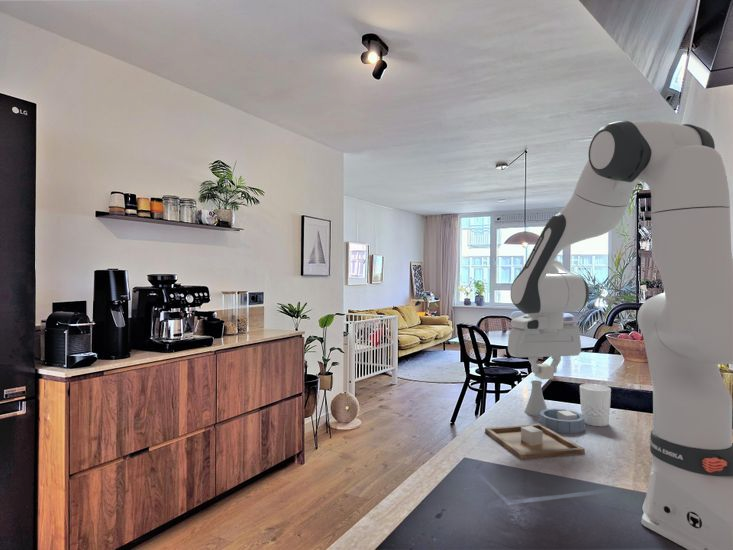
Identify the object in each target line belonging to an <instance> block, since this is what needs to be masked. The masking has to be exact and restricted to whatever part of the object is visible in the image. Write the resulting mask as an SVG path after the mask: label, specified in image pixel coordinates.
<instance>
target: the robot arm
mask: <svg viewBox="0 0 733 550" xmlns="http://www.w3.org/2000/svg"><path fill="white" fill-rule="evenodd" d="M715 147H716V144H715V141H714V138H713V135H711V133H710V132H709V131H708V130H706V129H704V128H702V127H699V126H697V125H693V124H691V123H690V124H689V123H684V124H680V123H673V122H666V121H665V122H663V121H660V120H639V121H638V120H637V121H629V120H621V121H620V120H619V121H614V122H611V123H607V124H604V125H603V126H601V127H600V128H599V129H598V130H597V132H596V133H595V134H594V136H593V137H592V139H591V141H590V144H589V148H588V160H587V162H586V164H585V165H584V167H583V169H582V170H581V174H580V175H579V178H578V180H577V183H576V186H575V187H574V190H573V193H572V196H571V197H570V199H569V200H568V202H567V203H566V204H565V206H564V207H563V208H562V209H561V210H560V211H559V212H558V213H557V214H555V215H554V216H552V217H551V218H549V219H548V221H547V223H546V224H545V226H544V228H543V229H542V231H541V233H540V235H539V236H538V238H537V241H536V242H535V245H533V248H532V250H531V252H530V253H529V256H528V258H527V260H526V262H525V264H524V266H523V268H522V269H521V271H520V272H519V274H518V275H516V278H514V280H513V282H512V284H511V287H510V300H511V303H512V304H513V305H514V306H515V307H516V308H517V310H519V311H520V312H521V313H523V315H521V316H520V315H519V316H518V317H515V318H511V320H510V326H511V327H512V328H511V330H510V331H509V335H508V341H507V352H508V354H509V355H510V356H512V357H514V358H528V361H529V363H530V365H531V366H532V368H531V371H532V373H533V374H534V375H535V374H538V373H541V371H540V370H541V367H539V366H538V365H537V364H538V363H537V361H539V358H540V357H541V358H543V357H545V358H546V357H551V359H552V361H551V363H550V364H549V365H550V366H553V367H554V374H556V373H557V371H558V369H557V367H558V366H559V364H560V363H561V360H562V357H573V356H574V357H575V356H577V357H578V356H579V355H580V354H581V352H582V344H581V342H582V341H581V337H580V336H581V335H580V325H579V324H578V323H577V322H576V321H574V320H570V321H565V320H564V313H575V312H579V311H582V310H583V309H584V308H585V307H586V306H587V304H588V301H589V299H590V288H589V285H588V283H587V281H586V279H585V278H584V277H583V276H581V275H578V274H575V273H573V272H571V271H569V270H567V269H566V268H565V266H564V265H563V263H562V262H561V261H558V260H556V258H557V256H558V255H559V254H560V252H561V251H563V250H564V249H565V248H567V247H569V246H571V245H573V244H576V243H579V242H582V241H585V240H588V239H589V240H590V239H592V238H596V237H599V236H602V235H605V234H607V233H608V232H611V231H612V230H614V228H615V227H616V226H618V223H620V221H621V220H622V218H623V216H624V214H625V213H626V209H627V207H628V205H629V202H630V200H631V197H632V194H633V191H634V189H635V188H636V185H637V184H638V183H639V182H642V183H645V184H646V185H647V186H648V188H649V189H650V196H651V197H650V198H651V199H650V201H651V202H650V203H651V204H650V219H651V220H650V221H651V225H650V226H651V227H650V230H651V258H652V261H653V263H654V265H655V266H656V268H657V270H658V273H659V276H660V278H661V283H662V287H663V290H664V291H663V292H662V293H659V294H655V295H653V296H651V297H650V298H648V299H646V300H645V301H644V302H643V303H642V304H641V306H640V307H639V310H638V311H637V316H636V317H637V318H636V319H637V325H638V328H639V330H640V332H641V334H642V337H643V342H644V347H645V354H646V360H647V364H648V368H649V372H650V377H651V386H652V418H653V419H652V420H653V421H652V425H653V426H652V427H653V429H651V431H650V434H649V435H650V438H649V452H650V453H651V454H652V455H651V457H652V460H651V465H650V471H649V475H648V483H647V490H646V493H645V494H646V495H645V498H644V502H643V504H642V512H643V513H642V515H641V521H640V522H641V524H642V526H644V527H645V528H648V529H649V530H651V531H653V532H655V533H656V534H658V535H661V536H662V537H664V538H666V539H668V540H670V541H672V542H674V543H675V544H677V545H679V546H681V547H683V548H685V549H686V550H733V397H732V395H731V393H730V391H729V389H728V386H726V383H725V381H724V379H723V377H722V374H721V371H720V367H719V365H732V364H733V253H732V251H733V250H732V234H731V232H732V231H731V228H732V227H731V203H730V190H729V182H728V176H727V171H726V168H725V164H724V160H723V158H722V155H721V154H720V153H719V151H718V150H716V149H715Z"/></svg>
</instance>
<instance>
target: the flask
mask: <svg viewBox="0 0 733 550" xmlns="http://www.w3.org/2000/svg"><path fill="white" fill-rule="evenodd" d="M530 384H531V392H530V394H529V395H530V396H529V398H528V402H527V403H526V404H527V405H526V408H525V410H524V413H525V414H526V415H528V416H533V417H540V411H542V410H544V409H548V406H547V404H546V401H545V399H544V396H543V395H544V394H543V390H542V384H543V381H542V380H538V379H535V380H533V379H532V380H531V381H530Z"/></svg>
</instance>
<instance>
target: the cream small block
mask: <svg viewBox="0 0 733 550" xmlns="http://www.w3.org/2000/svg"><path fill="white" fill-rule="evenodd" d="M537 365H538V366H539V367H541V370H540V371H541V373H538V374H535V373H534V376H535V377H536V378H539V379H541V380H554V374H555V373H554V367H553V366H550V365H551V364H548V363H537Z"/></svg>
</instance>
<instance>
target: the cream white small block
mask: <svg viewBox="0 0 733 550" xmlns="http://www.w3.org/2000/svg"><path fill="white" fill-rule="evenodd" d="M521 440H522V441H524V442H526V443H528V444H530V445H531V446H533V445H540V444H543V431H542V430H540V429H537V428H535V427H533V426H527V427H521Z"/></svg>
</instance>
